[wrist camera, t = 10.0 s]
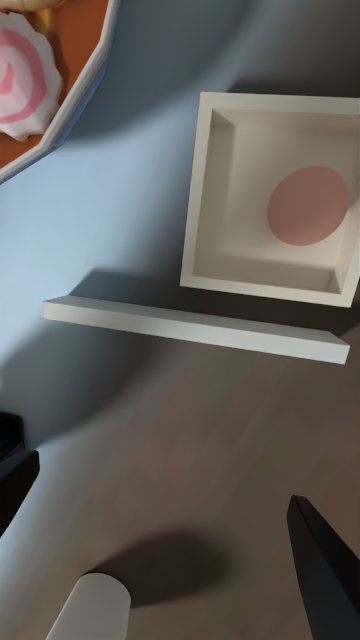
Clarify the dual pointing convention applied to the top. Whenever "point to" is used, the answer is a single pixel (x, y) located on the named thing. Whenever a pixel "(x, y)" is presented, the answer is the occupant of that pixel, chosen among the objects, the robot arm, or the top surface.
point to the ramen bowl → (48, 72)
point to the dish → (256, 189)
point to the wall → (198, 327)
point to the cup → (94, 610)
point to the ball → (308, 205)
